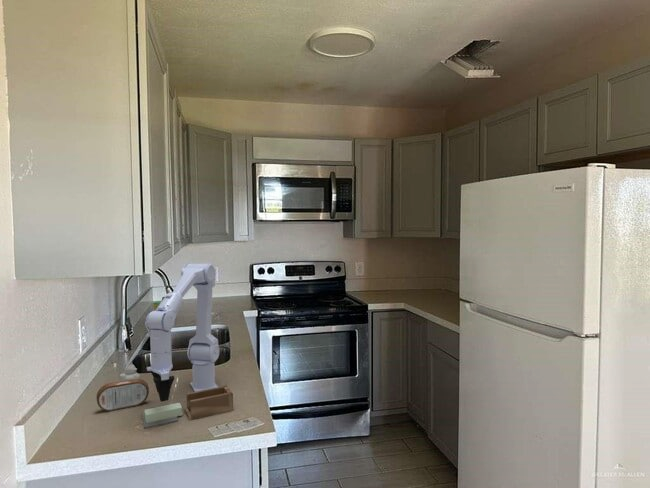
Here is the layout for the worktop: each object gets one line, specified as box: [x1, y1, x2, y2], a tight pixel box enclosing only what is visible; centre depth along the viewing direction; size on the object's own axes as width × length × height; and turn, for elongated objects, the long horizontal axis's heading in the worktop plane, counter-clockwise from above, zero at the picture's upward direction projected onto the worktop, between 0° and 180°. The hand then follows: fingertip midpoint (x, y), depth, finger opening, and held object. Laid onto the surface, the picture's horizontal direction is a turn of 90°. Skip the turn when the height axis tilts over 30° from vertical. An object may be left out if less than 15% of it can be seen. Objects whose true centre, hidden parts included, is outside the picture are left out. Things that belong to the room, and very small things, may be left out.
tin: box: [95, 378, 150, 412], centre depth 133 cm, size 15×3×8 cm, turn 118°
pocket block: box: [184, 385, 234, 421], centre depth 130 cm, size 7×13×5 cm, turn 118°
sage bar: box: [144, 402, 183, 423], centre depth 126 cm, size 4×10×2 cm, turn 118°
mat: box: [141, 413, 179, 429], centre depth 125 cm, size 9×9×1 cm
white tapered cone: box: [119, 362, 141, 381], centre depth 153 cm, size 5×7×8 cm
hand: (162, 396), depth 125 cm, fingers open, 7 cm apart
